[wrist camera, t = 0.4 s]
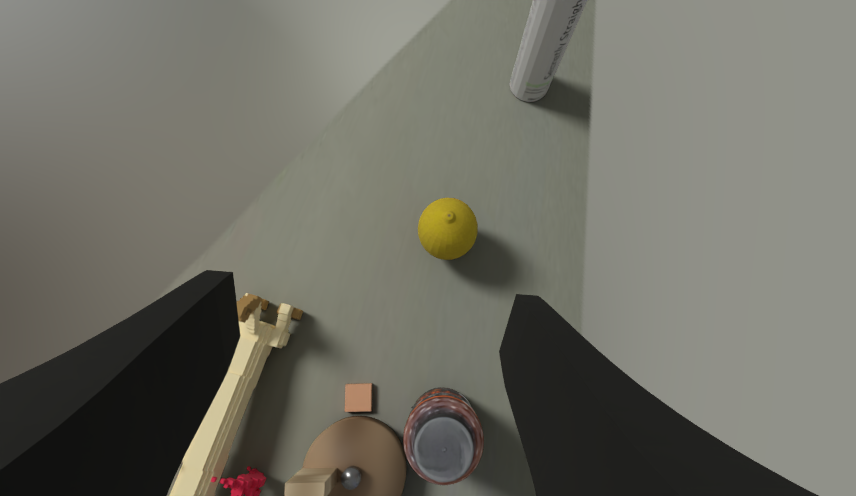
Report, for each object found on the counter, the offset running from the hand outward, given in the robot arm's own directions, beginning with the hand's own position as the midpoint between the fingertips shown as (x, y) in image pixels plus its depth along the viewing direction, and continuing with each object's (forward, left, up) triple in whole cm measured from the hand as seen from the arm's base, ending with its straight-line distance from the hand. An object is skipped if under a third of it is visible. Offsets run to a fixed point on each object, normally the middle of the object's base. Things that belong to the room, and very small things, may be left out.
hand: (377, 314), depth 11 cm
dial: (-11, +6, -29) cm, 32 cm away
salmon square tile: (-5, +6, -29) cm, 30 cm away
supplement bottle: (-7, -2, -30) cm, 31 cm away
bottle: (+28, -13, -30) cm, 43 cm away
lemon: (+10, -3, -30) cm, 32 cm away
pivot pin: (-11, +6, -27) cm, 30 cm away
